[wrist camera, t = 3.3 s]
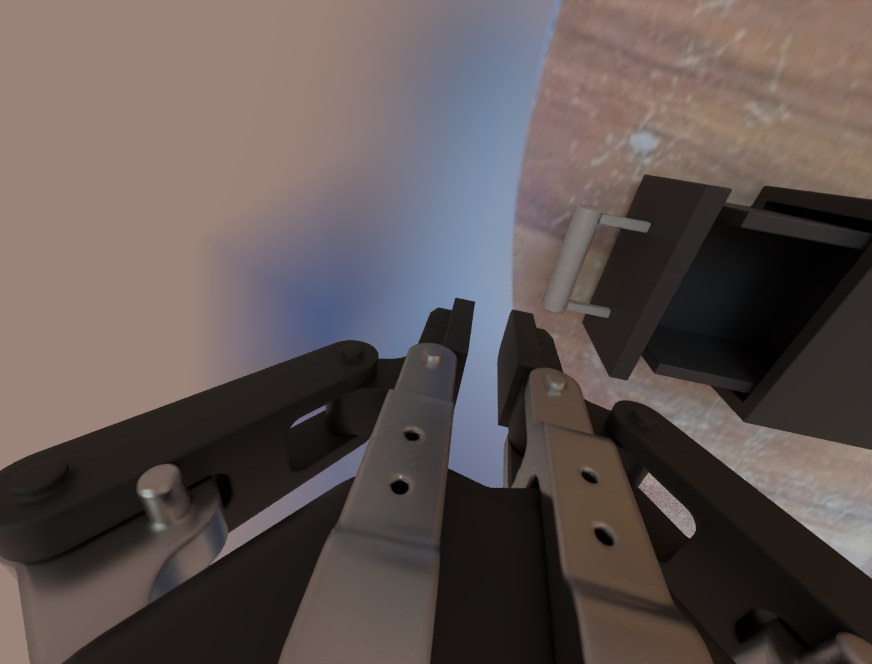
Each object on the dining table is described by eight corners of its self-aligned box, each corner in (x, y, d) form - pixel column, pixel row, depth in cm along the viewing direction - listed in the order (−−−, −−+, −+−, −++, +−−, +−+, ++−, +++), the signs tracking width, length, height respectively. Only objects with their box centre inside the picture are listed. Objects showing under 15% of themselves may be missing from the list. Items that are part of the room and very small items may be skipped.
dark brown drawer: (527, 311, 29) (538, 361, 22) (576, 162, 23) (610, 167, 16) (746, 356, 28) (828, 424, 21) (853, 211, 22) (1015, 239, 15)
